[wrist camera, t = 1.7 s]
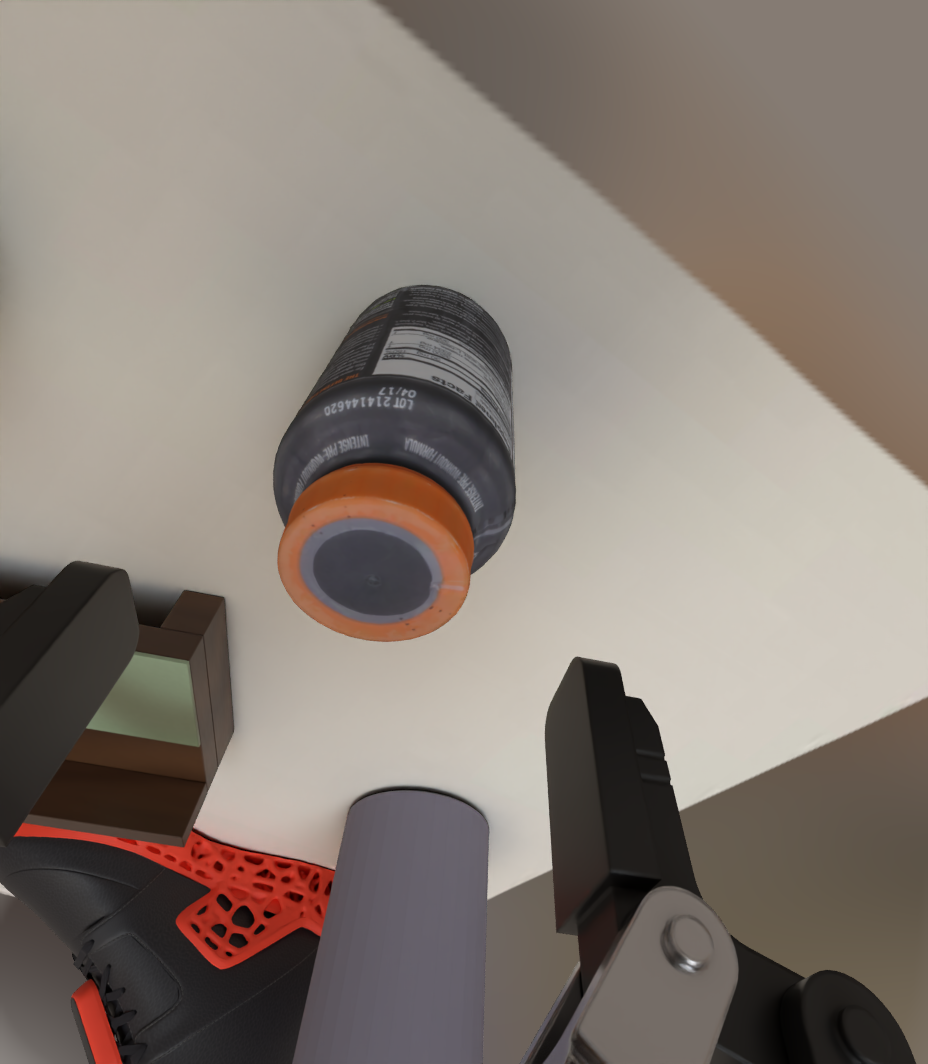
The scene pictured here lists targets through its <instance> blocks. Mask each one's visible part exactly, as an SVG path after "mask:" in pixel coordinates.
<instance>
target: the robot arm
mask: <svg viewBox="0 0 928 1064" xmlns="http://www.w3.org/2000/svg"><path fill="white" fill-rule="evenodd" d="M138 639H139V624H138V619H137V614H136V609H135V604H134V600H133V595H132V590H131V585H130V580H129V576H128V574H127V572H126V571H125V570H123V569H119V568H114V567H109V566H103V565H98V564H93V563H88V562H82V561H74V562H72V563H70V564H68V565H67V566H66V567H65V568H64V569H63V570H62V571H61V572H60V573H59V574H58V575H57V576H56V577H55V578H54V579H53V580H52V582H51V583H50V584H49V585H48V586H47V587H42V586H37V585H32V586H30V587H28V588H27V589H25V590H23V591H21V592H19V593H18V594H16V595H14V596H12V597H10V598H9V599H7V600H5V601H3V602H2V603H0V847H7V846H8V844H9V843H10V841H11V840H12V838H13V837H14V835H15V834H16V832H17V831H18V829H19V828H20V826H21V825H22V823H23V822H24V820H25V819H26V817H27V816H28V814H29V813H30V811H31V810H32V808H33V807H34V805H35V804H36V802H37V801H38V799H39V798H40V796H41V795H42V793H43V792H44V790H45V789H46V787H47V786H48V784H49V783H50V781H51V780H52V778H53V777H54V775H55V774H56V772H57V771H58V769H59V768H60V766H61V765H62V763H63V762H64V760H65V759H66V757H67V756H68V754H69V753H70V751H71V750H72V748H73V747H74V745H75V744H76V742H77V741H78V739H79V738H80V736H81V735H82V733H83V732H84V730H85V729H86V727H87V726H88V724H89V723H90V721H91V720H92V718H93V717H94V715H95V714H96V712H97V711H98V709H99V708H100V706H101V705H102V703H103V702H104V700H105V699H106V697H107V696H108V694H109V693H110V691H111V690H112V688H113V687H114V685H115V684H116V682H117V681H118V679H119V678H120V676H121V675H122V673H123V672H124V670H125V669H126V667H127V666H128V664H129V663H130V661H131V659H132V657H133V655H134V653H135V650H136V647H137V644H138ZM545 749H546V765H547V782H548V799H549V816H550V832H551V849H552V866H553V883H554V899H555V916H556V932H557V933H563V934H570V935H577V936H578V942H579V955H580V961H579V962H578V963H577V965H576V966H575V968H574V970H573V971H572V973H571V975H570V977H569V978H568V980H567V982H566V984H565V985H564V987H563V989H562V990H561V992H560V994H559V996H558V997H557V999H556V1001H555V1003H554V1004H553V1006H552V1008H551V1010H550V1011H549V1013H548V1015H547V1017H546V1018H545V1020H544V1022H543V1024H542V1025H541V1027H540V1029H539V1030H538V1032H537V1034H536V1036H535V1037H534V1039H533V1041H532V1043H531V1045H530V1046H529V1048H528V1050H527V1051H526V1053H525V1055H524V1056H523V1058H522V1060H521V1062H520V1063H519V1064H916V1062H915V1060H914V1057H913V1054H912V1052H911V1049H910V1047H909V1045H908V1042H907V1040H906V1038H905V1036H904V1034H903V1032H902V1030H901V1029H900V1027H899V1025H898V1023H897V1022H896V1020H895V1019H894V1017H893V1016H892V1015H891V1013H890V1012H889V1011H888V1009H887V1008H886V1007H885V1006H884V1005H883V1003H882V1002H881V1001H880V1000H879V999H878V998H877V997H876V996H875V995H874V994H873V993H872V992H871V991H870V990H869V989H868V988H866V987H865V986H864V985H863V984H861V983H860V982H858V981H857V980H855V979H854V978H852V977H850V976H848V975H846V974H844V973H841V972H837V971H831V970H824V971H819V972H817V973H815V974H813V975H811V976H809V977H807V978H804V977H802V976H800V975H798V974H797V973H795V972H793V971H791V970H789V969H787V968H786V967H784V966H782V965H780V964H778V963H776V962H774V961H773V960H771V959H769V958H767V957H765V956H763V955H761V954H760V953H758V952H756V951H754V950H752V949H750V948H749V947H747V946H745V945H744V944H742V943H741V942H739V941H738V940H737V939H735V938H734V937H733V936H732V935H730V934H729V933H728V930H727V928H726V927H725V925H724V924H723V922H722V920H721V919H720V918H719V916H718V915H717V914H716V912H715V911H714V910H713V909H712V908H711V907H710V906H709V905H708V904H707V903H706V902H705V901H704V900H703V898H702V896H701V894H700V892H699V889H698V887H697V884H696V881H695V877H694V873H693V869H692V865H691V861H690V857H689V852H688V848H687V844H686V840H685V836H684V832H683V828H682V823H681V819H680V815H679V811H678V807H677V803H676V798H675V794H674V790H673V786H672V785H670V780H671V778H670V774H669V769H668V765H667V761H665V760H664V756H665V753H664V749H663V744H662V740H661V736H660V732H659V728H658V725H657V723H656V722H655V720H654V719H653V717H652V715H651V714H650V712H649V711H648V709H647V708H646V706H645V704H644V703H643V701H642V700H641V699H640V698H634V697H629V696H625V692H624V686H623V681H622V676H621V672H620V669H619V667H618V666H617V665H616V664H613V663H608V662H603V661H598V660H592V659H587V658H582V657H575V658H574V659H573V660H572V662H571V663H570V665H569V667H568V669H567V671H566V673H565V675H564V677H563V679H562V681H561V683H560V685H559V687H558V689H557V691H556V693H555V695H554V697H553V699H552V701H551V703H550V706H549V709H548V712H547V717H546V724H545Z"/></svg>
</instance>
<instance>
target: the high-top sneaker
mask: <svg viewBox="0 0 928 1064" xmlns="http://www.w3.org/2000/svg"><path fill="white" fill-rule="evenodd" d="M334 874H335V871H332V870H329V869H325V868H322V867H319V866H315V865H310V864H307V863H304V862H300V861H296V860H289V859H284V858H280V857H275V856H269V855H264V854H258V853H251V852H247V851H242V850H239V849H236V848H232V847H229V846H225V845H221V844H218V843H215V842H212V841H209V840H207V839H205V838H203V837H202V836H200V835H198V834H196V833H194V832H192V831H191V833H190V835H189V838H188V840H187V842H186V845H185V847H177V846H170V845H164V844H157V843H151V842H144V841H138V840H131V839H125V838H118V837H112V836H105V835H98V834H92V833H85V832H79V831H72V830H66V829H59V828H53V827H46V826H40V825H33V824H27V823H22V825H21V826H20V828H19V829H18V831H17V832H16V834H15V835H14V837H13V838H12V840H11V841H10V843H9V844H8V846H7V847H0V883H1V884H2V885H3V886H4V887H5V888H6V889H7V890H8V891H9V892H11V893H12V894H13V895H14V896H15V897H17V898H18V899H19V900H20V901H22V902H23V903H24V904H25V905H26V906H27V907H29V908H30V909H31V910H32V911H33V912H34V913H35V914H36V915H37V916H38V917H39V918H40V919H41V920H42V921H43V922H44V923H45V924H46V925H47V926H48V927H49V928H50V929H51V930H52V931H53V932H54V933H55V934H56V935H57V936H58V937H59V939H60V940H61V941H63V943H64V944H65V945H66V946H67V947H68V948H69V949H70V950H71V951H72V953H73V954H72V957H73V959H74V961H75V962H74V965H75V966H76V968H78V969H80V970H81V972H82V973H83V975H84V976H85V978H86V979H87V981H86V982H85V983H84V984H83V985H82V986H80V987H79V988H78V989H77V990H76V991H75V992H74V993H73V995H72V997H71V1008H72V1012H73V1015H74V1018H75V1021H76V1024H77V1027H78V1030H79V1033H80V1037H81V1040H82V1043H83V1046H84V1049H85V1052H86V1056H87V1059H88V1062H89V1064H122V1063H123V1064H292V1063H293V1058H294V1054H295V1049H296V1045H297V1040H298V1036H299V1031H300V1027H301V1022H302V1018H303V1013H304V1009H305V1004H306V1000H307V995H308V991H309V986H310V982H311V977H312V973H313V968H314V964H315V959H316V955H317V950H318V946H319V942H320V937H321V933H322V928H323V924H324V919H325V915H326V910H327V906H328V901H329V897H330V892H331V888H332V883H333V879H334ZM105 1011H106V1013H107V1014H106V1013H105ZM114 1035H116V1038H117V1041H118V1042H117V1041H115V1039H114Z"/></svg>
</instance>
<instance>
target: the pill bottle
mask: <svg viewBox="0 0 928 1064" xmlns="http://www.w3.org/2000/svg"><path fill="white" fill-rule="evenodd" d="M273 487H274V495H275V500H276V504H277V508H278V511H279V514H280V516H281V519H282V521H283V523H284V526H285V530H284V532H283V535H282V538H281V541H280V544H279V549H278V571H279V574H280V578H281V581H282V583H283V585H284V587H285V589H286V591H287V592H288V594H289V596H290V597H291V598H292V600H293V602H294V603H295V604H296V605H297V606H298V607H299V608H300V609H301V610H303V611H304V612H305V613H306V614H307V615H309V616H310V617H311V618H313V619H314V620H316V621H317V622H318V623H320V624H322V625H324V626H326V627H328V628H330V629H332V630H334V631H336V632H338V633H341V634H344V635H347V636H350V637H354V638H359V639H364V640H370V641H383V642H390V641H402V640H409V639H413V638H417V637H420V636H423V635H426V634H429V633H431V632H433V631H435V630H437V629H438V628H440V627H441V626H443V625H444V624H446V623H447V622H448V621H449V620H450V619H451V618H452V617H453V616H455V615H456V614H457V612H458V611H459V609H460V608H461V606H462V604H463V602H464V600H465V598H466V596H467V593H468V590H469V586H470V575H471V574H473V573H474V572H476V571H477V570H478V569H479V568H481V567H482V566H483V565H484V564H485V563H486V562H487V561H488V560H489V559H490V558H491V557H492V556H493V555H494V554H495V553H496V552H497V550H498V549H499V547H500V546H501V544H502V542H503V540H504V539H505V537H506V535H507V533H508V531H509V528H510V526H511V522H512V519H513V513H514V509H515V504H516V486H515V449H514V419H513V392H512V363H511V358H510V352H509V348H508V345H507V342H506V340H505V337H504V335H503V334H502V332H501V330H500V328H499V326H498V325H497V323H496V322H495V321H494V320H493V318H492V317H491V316H490V315H489V314H488V313H487V312H486V311H485V310H484V309H483V308H482V307H481V306H479V305H478V304H477V303H476V302H475V301H473V300H472V299H470V298H469V297H467V296H465V295H463V294H461V293H459V292H456V291H453V290H451V289H447V288H443V287H439V286H430V285H417V286H409V287H403V288H399V289H397V290H395V291H392V292H390V293H388V294H386V295H384V296H382V297H380V298H378V299H377V300H375V301H374V302H373V303H372V304H371V305H370V306H369V307H368V308H367V309H366V310H365V311H363V312H362V313H361V314H360V315H359V317H358V318H357V320H356V321H355V323H354V324H353V325H352V326H351V328H350V330H349V331H348V333H347V335H346V337H345V338H344V340H343V341H342V343H341V345H340V347H339V348H338V349H337V351H336V352H335V354H334V356H333V357H332V359H331V361H330V362H329V364H328V365H327V367H326V369H325V370H324V372H323V373H322V375H321V376H320V378H319V380H318V382H317V383H316V385H315V386H314V388H313V390H312V391H311V393H310V394H309V396H308V398H307V399H306V401H305V402H304V404H303V405H302V407H301V409H300V410H299V411H298V413H297V415H296V417H295V418H294V420H293V421H292V423H291V424H290V426H289V428H288V429H287V431H286V433H285V434H284V436H283V438H282V440H281V442H280V445H279V447H278V451H277V453H276V457H275V463H274V470H273Z"/></svg>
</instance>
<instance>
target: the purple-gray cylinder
mask: <svg viewBox="0 0 928 1064" xmlns="http://www.w3.org/2000/svg"><path fill="white" fill-rule="evenodd" d="M488 848H489V827H488V824H487V821H486V820H485V819H484V817H483V816H482V815H481V814H480V813H479V812H477V811H476V810H475V809H474V808H472V807H470V806H469V805H467V804H465V803H463V802H462V801H460V800H457V799H455V798H452V797H450V796H446V795H443V794H439V793H434V792H428V791H420V790H396V791H389V792H383V793H378V794H374V795H371V796H368V797H366V798H364V799H362V800H360V801H358V802H357V803H356V804H354V805H353V806H352V807H351V809H350V811H349V812H348V816H347V820H346V825H345V829H344V834H343V838H342V843H341V847H340V852H339V856H338V861H337V865H336V870H335V874H334V879H333V883H332V888H331V892H330V897H329V901H328V906H327V910H326V915H325V919H324V924H323V928H322V933H321V937H320V942H319V946H318V950H317V955H316V959H315V964H314V968H313V973H312V977H311V982H310V986H309V991H308V995H307V1000H306V1004H305V1009H304V1013H303V1018H302V1022H301V1027H300V1031H299V1036H298V1040H297V1045H296V1049H295V1054H294V1058H293V1063H292V1064H483V1030H484V993H485V991H484V990H485V957H486V921H487V920H486V919H487V885H488Z"/></svg>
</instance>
